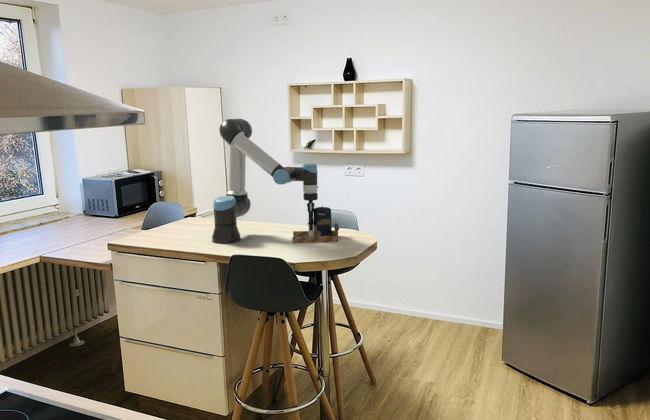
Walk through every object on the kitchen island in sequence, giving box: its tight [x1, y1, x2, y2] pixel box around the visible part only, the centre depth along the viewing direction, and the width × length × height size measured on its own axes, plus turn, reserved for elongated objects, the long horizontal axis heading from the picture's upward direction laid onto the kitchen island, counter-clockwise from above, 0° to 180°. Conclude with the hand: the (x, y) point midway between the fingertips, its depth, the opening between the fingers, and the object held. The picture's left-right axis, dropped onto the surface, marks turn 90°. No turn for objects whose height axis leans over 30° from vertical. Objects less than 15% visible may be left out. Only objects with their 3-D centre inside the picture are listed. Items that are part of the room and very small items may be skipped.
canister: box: [313, 206, 333, 236], centre depth 281 cm, size 10×10×18 cm
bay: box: [291, 220, 340, 244], centre depth 282 cm, size 25×15×8 cm, turn 92°
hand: (311, 235), depth 282 cm, fingers closed
